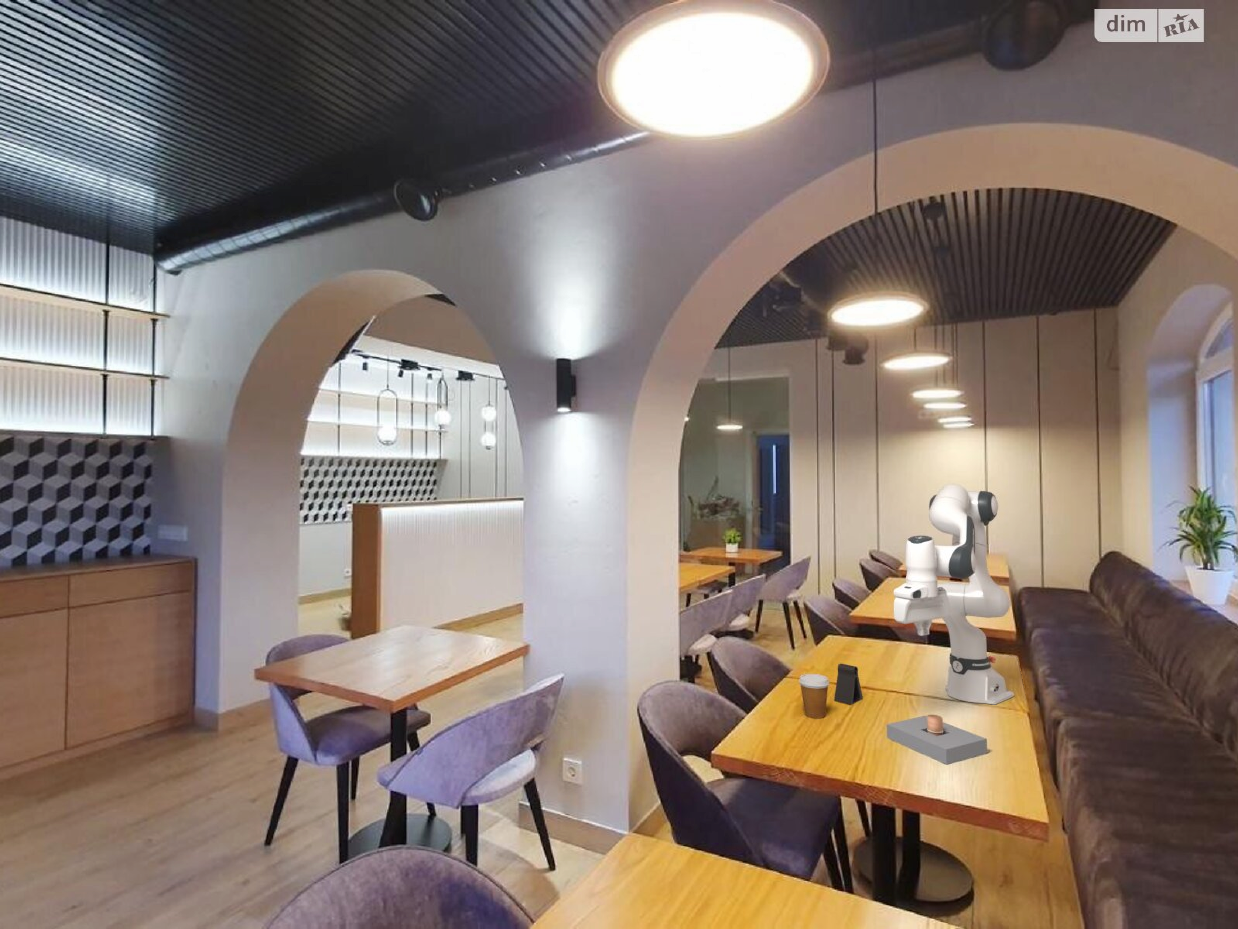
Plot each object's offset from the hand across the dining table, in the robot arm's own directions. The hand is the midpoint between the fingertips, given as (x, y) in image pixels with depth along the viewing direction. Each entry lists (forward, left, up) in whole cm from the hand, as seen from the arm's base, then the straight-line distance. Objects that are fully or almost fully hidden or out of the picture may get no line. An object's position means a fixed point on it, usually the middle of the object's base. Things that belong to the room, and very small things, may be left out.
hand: (923, 634), depth 195 cm
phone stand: (+2, -30, -29) cm, 42 cm away
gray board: (+8, +10, -28) cm, 31 cm away
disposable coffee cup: (+22, -24, -29) cm, 43 cm away
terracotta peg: (+8, +10, -28) cm, 31 cm away
